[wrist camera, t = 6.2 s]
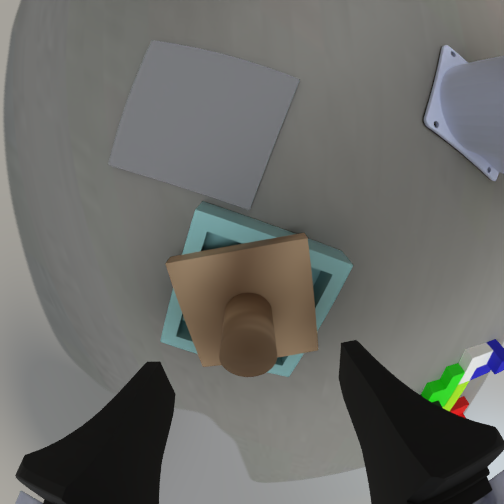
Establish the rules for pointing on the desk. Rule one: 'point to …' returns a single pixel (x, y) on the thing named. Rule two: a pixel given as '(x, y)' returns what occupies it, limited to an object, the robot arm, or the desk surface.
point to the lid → (248, 302)
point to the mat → (202, 121)
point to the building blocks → (464, 376)
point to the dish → (244, 231)
